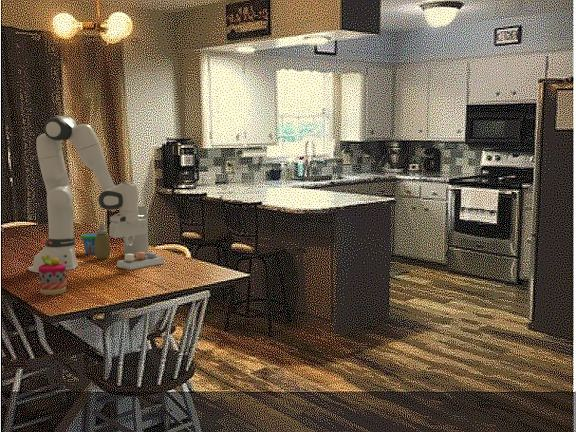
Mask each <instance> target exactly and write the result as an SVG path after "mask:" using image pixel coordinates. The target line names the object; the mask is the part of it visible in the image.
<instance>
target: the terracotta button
mask: <svg viewBox="0 0 576 432" xmlns="http://www.w3.org/2000/svg"><path fill="white" fill-rule="evenodd" d="M145 256H146V255H145V252H136V256H135V258H136V259H138V260H142V259H145Z"/></svg>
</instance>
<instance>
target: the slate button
mask: <svg viewBox="0 0 576 432" xmlns="http://www.w3.org/2000/svg"><path fill="white" fill-rule="evenodd" d="M146 256H147V258H149V259H152V258H156V256H157V253H156V252H148V253H147V254H146Z"/></svg>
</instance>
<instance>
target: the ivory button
mask: <svg viewBox="0 0 576 432" xmlns="http://www.w3.org/2000/svg"><path fill="white" fill-rule="evenodd" d="M134 258H135V256H134V254H124V260H125V261H127V262H131V261H134Z"/></svg>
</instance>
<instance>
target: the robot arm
mask: <svg viewBox="0 0 576 432" xmlns="http://www.w3.org/2000/svg"><path fill="white" fill-rule="evenodd" d="M43 131H44V133H41V134H39V136H37V137H36V141H35V143H36V155H37V160H38V164H39V168H40V172H41V175H42V180H43V182H44V187H45V190H46V208H47V219H48V220H47V221H48V223H47V224H48V238H47V239H41V241H40V242H41V244H43V245H45V246H44V247H43V248H42V249H41V250H40V251H39V252H38V253H37V254H35V255H34V257H33V261H32V262H33V263H32V265H31V266H28V271H30V272H32V273H38V274H39V267H40V266H41V265H44V264H45V263H44V262H43V259H42V256H45V258H46V256H47V255H49V256H50V261H51V260H52V259H53V258H58V259H59V263H60V264H64V265H65V266H66V270H65V271H69V270H74V269H76V268H77V267H78V266H79V263H78V260H77V257H76V250H75V247H76V246H75V245H76V241H75V237H74V217H73V192H72V188H71V184H70V179H69V176H68V172H67V171H68V170H67V167H66V163H65V158H64V154H63V150H62V144H63V142H66V141H68V140H69V141H70V142H72V144H73V146H74V148H75V150H76V153H77V155H78V157H79V159H80V160H81V162H82V165H85V166H86V167H88V168H89V169H90V170H91V171H92V172H93V173H94V175H95V176H96V179H97V182H98V184H99V186H100V188H101V192H100V194H99V196H98V198H97V199H98V204H99V206H100V207H101V209H104V210H106V211H107V210H108V211H111V210H115V209H119V212H117V213H116V214H114V215H112V216H110V217H109V220H110V224H109V229H108V230H109V231H108V232H109V233H108V235H109V237H110V238H113V239H119V238H123V241H124V240H125V242H126V245H127V246H129V245H133V241H134V239H135V235H142V234H147V233H148V234H149V226H148V225H149V224H148V225H147V217H146V216H144V215H142V216H139V210H138V206H139V205H138V204H139V189H138V186H137V185H136V184H134V183H131V182H126V181H122V182H120V183H119V184H117V185H116V184H115V183H114V180H113V178H112V176H111V174H110V171H109V168H108V167H107V164H106V159H105V154H104V152H103V147H102V145H101V143H100V141H99V139H98V136H97V134H96V132H95V130H94V129H93V128H92V126H91V125H90V124H87V123H80V124H79V123H78V121H77V119H76V118H74V117H72V116H70V115H57V116H53V117H50V118H49V119H47V120H46V121H45V122H44V126H43ZM141 217H142V218H141ZM129 236H130V238H131V239H130V241H128V238H129Z"/></svg>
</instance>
